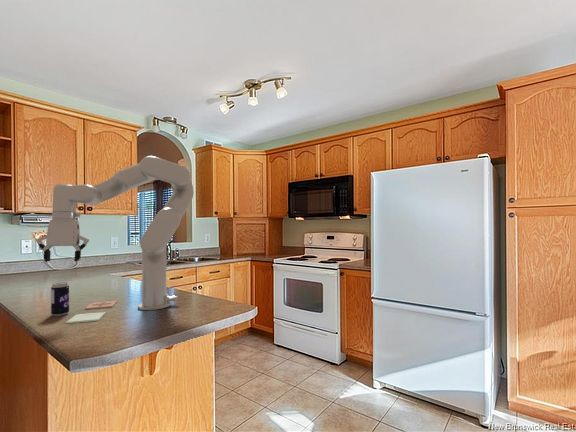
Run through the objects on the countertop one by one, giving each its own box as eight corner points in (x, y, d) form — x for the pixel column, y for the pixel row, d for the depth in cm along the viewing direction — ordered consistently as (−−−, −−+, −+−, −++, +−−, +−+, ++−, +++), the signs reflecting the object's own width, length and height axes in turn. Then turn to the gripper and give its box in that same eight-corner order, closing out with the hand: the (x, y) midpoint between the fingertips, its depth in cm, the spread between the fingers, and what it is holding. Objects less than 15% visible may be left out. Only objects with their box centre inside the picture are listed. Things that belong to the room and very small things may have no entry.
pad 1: (105, 313, 125) (105, 311, 125) (98, 320, 116) (98, 318, 116) (76, 316, 122) (76, 314, 122) (66, 323, 113) (66, 321, 113)
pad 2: (117, 302, 144) (117, 300, 144) (112, 307, 135) (112, 305, 135) (92, 304, 142) (92, 302, 142) (84, 309, 132) (84, 307, 132)
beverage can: (59, 316, 122) (59, 284, 122) (47, 316, 123) (47, 284, 123) (72, 312, 127) (72, 282, 128) (60, 312, 129) (60, 282, 129)
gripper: (92, 217, 131) (90, 259, 130) (41, 216, 125) (39, 260, 125) (87, 216, 124) (85, 261, 123) (33, 215, 118) (31, 262, 118)
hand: (62, 261), depth 124 cm, fingers open, 9 cm apart
